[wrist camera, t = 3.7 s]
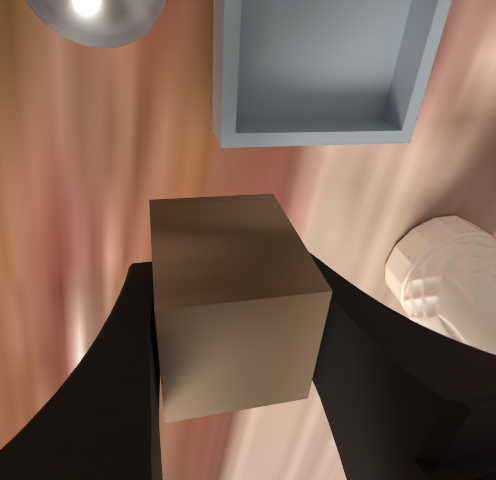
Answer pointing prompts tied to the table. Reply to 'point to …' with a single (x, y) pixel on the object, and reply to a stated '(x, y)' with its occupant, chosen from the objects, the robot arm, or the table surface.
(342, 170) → the table surface
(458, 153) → the table surface
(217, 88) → the parts tray
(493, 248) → the white cup
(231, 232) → the walnut block
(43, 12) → the metal cylinder
